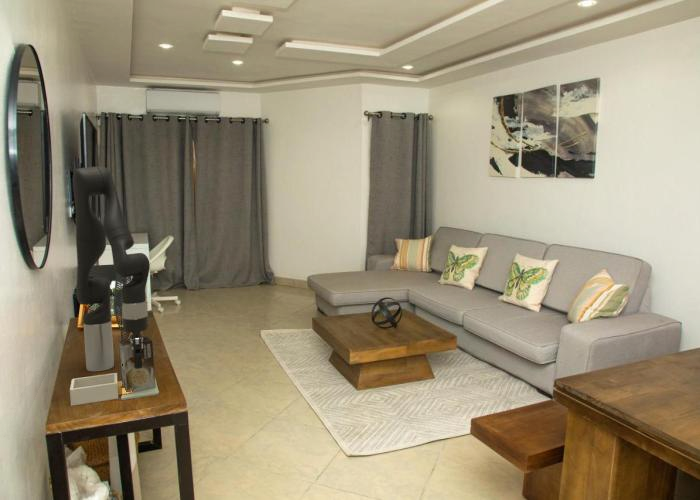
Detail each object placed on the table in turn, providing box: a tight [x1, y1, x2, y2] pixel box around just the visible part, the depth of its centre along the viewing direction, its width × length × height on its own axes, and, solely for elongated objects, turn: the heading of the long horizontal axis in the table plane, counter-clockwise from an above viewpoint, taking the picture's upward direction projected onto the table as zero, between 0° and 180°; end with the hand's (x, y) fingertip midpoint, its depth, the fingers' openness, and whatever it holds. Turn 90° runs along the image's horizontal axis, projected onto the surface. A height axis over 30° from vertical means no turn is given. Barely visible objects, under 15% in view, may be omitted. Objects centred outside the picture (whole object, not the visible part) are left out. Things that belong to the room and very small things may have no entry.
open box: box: [69, 372, 119, 407], centre depth 169 cm, size 10×13×5 cm
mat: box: [120, 377, 160, 401], centre depth 174 cm, size 14×11×1 cm
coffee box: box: [118, 336, 156, 392], centre depth 173 cm, size 9×6×16 cm
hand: (137, 364), depth 173 cm, fingers open, 8 cm apart
